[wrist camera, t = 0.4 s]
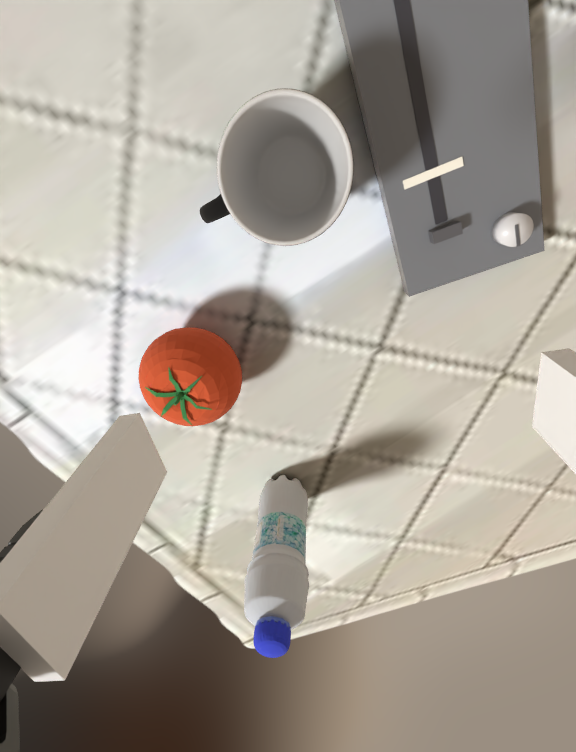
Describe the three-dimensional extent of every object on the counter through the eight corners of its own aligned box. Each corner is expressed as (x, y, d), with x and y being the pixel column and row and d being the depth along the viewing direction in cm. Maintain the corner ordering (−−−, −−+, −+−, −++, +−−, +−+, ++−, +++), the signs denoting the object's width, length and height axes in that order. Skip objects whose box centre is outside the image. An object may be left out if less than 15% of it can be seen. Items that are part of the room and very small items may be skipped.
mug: (321, 95, 30) (326, 55, 21) (355, 207, 33) (371, 214, 24) (194, 161, 32) (149, 152, 23) (238, 258, 36) (214, 282, 27)
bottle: (257, 470, 49) (227, 632, 31) (307, 468, 48) (306, 633, 30) (263, 506, 52) (239, 672, 34) (310, 505, 51) (311, 674, 33)
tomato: (166, 301, 38) (123, 336, 30) (259, 331, 39) (244, 373, 31) (153, 381, 43) (112, 432, 34) (236, 406, 44) (217, 461, 35)
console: (297, -153, 24) (295, -207, 20) (490, -276, 21) (524, -362, 18) (404, 291, 37) (413, 301, 33) (532, 247, 34) (555, 253, 31)
